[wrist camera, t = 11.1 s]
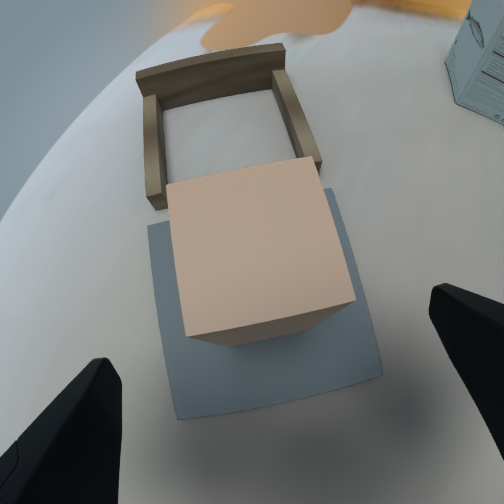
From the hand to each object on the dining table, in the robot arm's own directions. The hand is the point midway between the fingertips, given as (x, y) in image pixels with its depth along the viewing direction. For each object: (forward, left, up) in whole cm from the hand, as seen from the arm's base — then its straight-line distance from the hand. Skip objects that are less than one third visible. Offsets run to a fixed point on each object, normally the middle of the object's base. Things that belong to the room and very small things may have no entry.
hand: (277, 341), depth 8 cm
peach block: (+1, -2, -10) cm, 10 cm away
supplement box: (-14, -28, -11) cm, 33 cm away
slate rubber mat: (+1, -2, -10) cm, 11 cm away
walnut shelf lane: (+7, -13, -10) cm, 18 cm away
